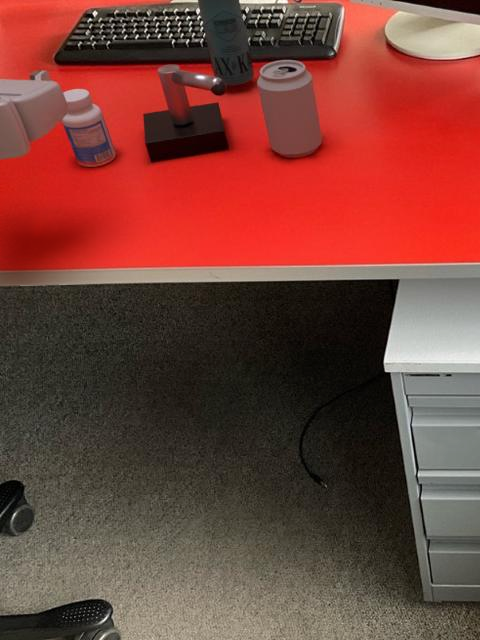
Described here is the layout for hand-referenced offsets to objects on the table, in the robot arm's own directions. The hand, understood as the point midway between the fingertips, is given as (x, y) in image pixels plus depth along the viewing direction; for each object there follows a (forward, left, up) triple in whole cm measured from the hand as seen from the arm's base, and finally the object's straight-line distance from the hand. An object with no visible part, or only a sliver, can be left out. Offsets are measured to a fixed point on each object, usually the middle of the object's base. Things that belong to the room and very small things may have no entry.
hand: (7, 74), depth 109 cm
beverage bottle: (+27, +28, -18) cm, 43 cm away
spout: (+21, +9, -14) cm, 27 cm away
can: (+33, +3, -18) cm, 37 cm away
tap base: (+18, +11, -17) cm, 27 cm away
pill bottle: (+5, +10, -18) cm, 21 cm away
